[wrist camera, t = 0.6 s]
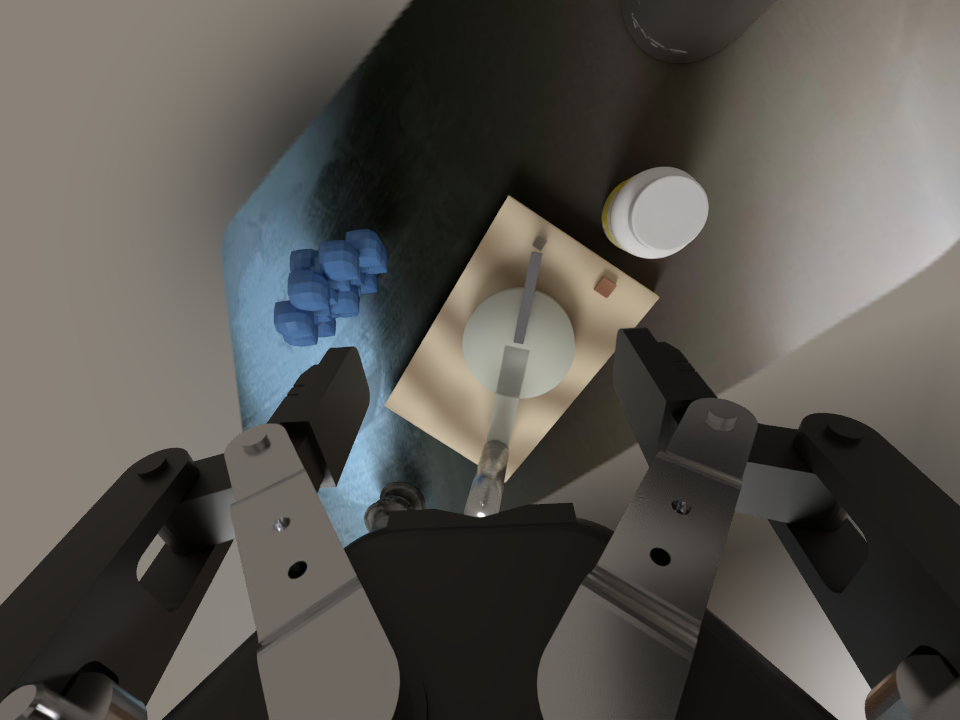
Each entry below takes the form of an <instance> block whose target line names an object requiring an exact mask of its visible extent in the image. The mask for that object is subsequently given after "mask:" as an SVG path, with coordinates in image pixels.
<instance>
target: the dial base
mask: <svg viewBox="0 0 960 720" xmlns="http://www.w3.org/2000/svg"><path fill="white" fill-rule="evenodd" d="M531 252H537V253H543V254H542V258H541V263H540V268H539V273H538V277H537V282H536V287H535V289H536V290H539V291H541V292H544V293H546V294H547V295H549V296H551V297H552V298H553V299H555V300H556V301H557V302H558V303H559V304H560V305H561V306H562V307H563V309H564V310H565V311H566V313H567V315H568V316H569V318H570V321H571V324H572V327H573V332H574V338H575V354H574V360H573V362H572V365H571V368H570V370H569V372H568V373H567V375H566V376H565V378H564V379H563V380H562V381H561V382H560V383H559V384H558V385H557V386H556V387H554V388H553V389H551V390H550V391H548V392H546V393H544V394H542V395H539V396H536V397H532V398H524V399H519V402H518V406H517V411H516V415H515V420H514V424H513V429H512V433H511V438H510V443H509V447H508V448H509V458H508V464H507V469H506V475H505V480H504V482H506V481H507V480H508V479H509V478H510V476H511V475H512V474H513V473H514V472H515V470H516V469H517V468H518V467H519V466H520V464H521V463H522V462H523V461H524V460H525V458H526V457H527V456H528V455H529V454H530V452H531V451H532V450H533V449H534V448H535V446H536V445H537V444H538V443H539V442H540V440H541V439H542V438H543V437H544V436H545V434H546V433H547V432H548V431H549V430H550V428H551V427H552V426H553V425H554V424H555V422H556V421H557V420H558V419H559V418H560V416H561V415H562V414H563V413H564V412H565V410H566V409H567V408H568V407H569V406H570V404H571V403H572V402H573V401H574V400H575V398H576V397H577V396H578V395H579V394H580V392H581V391H582V390H583V389H584V388H585V386H586V385H587V384H588V383H589V382H590V380H591V379H592V378H593V377H594V376H595V374H596V373H597V372H598V371H599V370H600V368H601V367H602V366H603V365H604V364H605V362H606V361H607V360H608V359H609V358H610V356H611V355H612V354H613V353H614V352H615V346H616V337H617V332H618V330H619V329H621V328H635V326H636V325H637V324H638V323H639V322H640V320H641V319H642V318H643V317H644V316H645V314H646V313H647V312H648V311H649V310H650V308H651V307H652V306H653V305H654V304H655V302H656V301H657V300H658V299H659V298H660V297H659V296H657V295H656V294H655V293H654V292H652V291H651V290H649V289H648V288H646V287H645V286H643V285H642V284H640V283H639V282H637V281H636V280H634V279H633V278H631V277H630V276H628V275H627V274H626V273H624V272H623V271H621V270H620V269H618V268H617V267H615V266H614V265H612V264H611V263H609V262H608V261H606V260H605V259H603V258H602V257H600V256H599V255H597V254H596V253H594V252H593V251H591V250H590V249H588V248H587V247H585V246H584V245H582V244H581V243H579V242H578V241H576V240H575V239H574V238H572V237H571V236H569V235H568V234H566V233H565V232H563V231H562V230H560V229H559V228H557V227H556V226H554V225H553V224H551V223H550V222H548V221H547V220H545V219H544V218H542V217H541V216H539V215H538V214H536V213H535V212H533V211H532V210H530V209H529V208H527V207H526V206H524V205H523V204H522V203H520V202H519V201H517V200H516V199H514V198H513V197H511V196H508V197H507V199H506V201H505V202H504V204H503V206H502V207H501V209H500V211H499V212H498V214H497V216H496V217H495V219H494V221H493V223H492V224H491V226H490V228H489V229H488V231H487V233H486V234H485V236H484V238H483V240H482V241H481V243H480V245H479V246H478V248H477V250H476V251H475V253H474V255H473V256H472V258H471V260H470V262H469V263H468V265H467V267H466V268H465V270H464V272H463V273H462V275H461V277H460V279H459V280H458V282H457V284H456V285H455V287H454V289H453V290H452V292H451V294H450V295H449V297H448V299H447V301H446V302H445V304H444V306H443V307H442V309H441V311H440V312H439V314H438V316H437V318H436V319H435V321H434V323H433V324H432V326H431V328H430V329H429V331H428V333H427V334H426V336H425V338H424V340H423V341H422V343H421V345H420V346H419V348H418V350H417V351H416V353H415V355H414V357H413V358H412V360H411V362H410V363H409V365H408V367H407V368H406V370H405V372H404V373H403V375H402V377H401V379H400V380H399V382H398V384H397V385H396V387H395V389H394V390H393V392H392V394H391V396H390V397H389V399H388V401H387V402H386V404H385V407H387V408H389V409H390V410H392V411H393V412H395V413H397V414H398V415H400V416H401V417H403V418H404V419H406V420H408V421H409V422H411V423H412V424H414V425H416V426H417V427H419V428H420V429H422V430H423V431H425V432H427V433H428V434H430V435H431V436H433V437H435V438H436V439H438V440H439V441H441V442H442V443H444V444H446V445H447V446H449V447H450V448H452V449H454V450H455V451H457V452H458V453H460V454H461V455H463V456H465V457H466V458H468V459H469V460H471V461H473V462H474V463H476V464H477V465H478V463H479V460H480V456H481V453H482V450H483V447H484V445H485V444H486V441H487V436H488V431H489V426H490V421H491V416H492V411H493V405H494V400H495V395H496V393H494V392H492V391H490V390H488V389H487V388H485V387H484V386H483V385H482V384H480V383H479V382H478V381H477V380H476V378H475V377H474V376H473V375H472V373H471V372H470V370H469V368H468V366H467V364H466V361H465V358H464V354H463V346H462V341H463V334H464V329H465V327H466V324H467V322H468V320H469V318H470V316H471V315H472V314H473V312H474V311H475V310H476V308H477V307H478V306H479V305H480V304H481V303H482V302H483V301H484V300H485V299H486V298H487V297H489V296H490V295H492V294H494V293H496V292H498V291H500V290H503V289H507V288H513V287H524V286H525V282H526V277H527V272H528V267H529V262H530V257H531Z"/></svg>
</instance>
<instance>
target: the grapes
mask: <svg viewBox="0 0 960 720" xmlns="http://www.w3.org/2000/svg"><path fill="white" fill-rule="evenodd" d="M387 268H388V255H387V250H386V248H385V247H384V245H383V244H382V243H381V240H380V238H379V237H378V235H377V234H376V233H375V232H374V231H371V230H369V229H361V230H353V231H349V232H346V238H345V241H344V240H335V241H327V242H322V243H320V244H319V251H316V250H313V249H302V250H295V251H291V255H290V271H291V273H289V278H288V296H289V299H290V300H289V301H281V302H276V303H275V308H274V325H275V328H276V330H277V332H279V333H280V334H282V335H283V338H284V340H285V341H286V342H287V343H289V344H290V345H293V346H301V347H302V346H310V345H316V344H317V340H318V337H329V336H335V330H336V320H335V318H339V317H352V316H357V315H358V312H359V302H360V296H361V294H368V293H374V292H377V285H378V277H377V274H380V273H385V272H387Z"/></svg>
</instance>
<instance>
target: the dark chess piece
mask: <svg viewBox="0 0 960 720" xmlns="http://www.w3.org/2000/svg"><path fill="white" fill-rule="evenodd" d="M422 509H425V501H424V498H423V496H422V494H421V493H420V492H419V491H418V490H417V489H416V488H415V487H413V486H411V485H409V484H406V483H402V482H394V483H391V484H388V485H387V486H385V487H384V488H383V490H382V492H381V495H380V500H378V501H377V502H376V503H373V504H372V505H371V506H370V507H369V508H368V509H367V511H366V512H365V517H364V520H365V525H366V528H367V530H368V531H369V532H371V531H374V530H376V529H379V528H382V527H385V526H387V523H388V519H389V514H390V511H399V510H422Z"/></svg>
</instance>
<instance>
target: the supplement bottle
mask: <svg viewBox="0 0 960 720" xmlns="http://www.w3.org/2000/svg"><path fill="white" fill-rule="evenodd" d="M707 216H708V199H707V195H706V193H705V191H704V189H703V188H702V186H701V185H700V184H699V183H698V182H697V181H696V180H695V179H694V178H693V177H692V176H690V175H689V174H688V173H686V172H684V171H682V170H680V169H677V168H673V167H656V168H652V169H648V170H645V171H643V172H641V173H639V174H637V175H635V176H633V177H631V178H629V179H627V180H625V181H623V182H622V183H620V184H619V185H618V186H617V187H615V188H614V189H613V190H612V192H611V193H610V194H609V196H608V197H607V199H606V201H605V203H604V206H603V209H602V217H601V221H602V227H603V230H604V233H605V235H606V236H607V238H608V239H609V240H610V241H611V242H612V243H613V244H614V245H615V246H617V247H619V248H620V249H622V250H625V251H627V252H629V253H630V254H632V255H635V256H637V257H641V258H648V259H656V258H663V257H666V256H669V255H672V254H674V253H676V252H678V251H679V250H681V249H682V248H683V247H685V246H686V245H687V244H688V243H689V242H691V241H692V240H693V239H694V238H695V237H696V236H697V235H698V234H699V233H700V231H701V230H702V228H703V226H704V224H705V222H706V220H707Z"/></svg>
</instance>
